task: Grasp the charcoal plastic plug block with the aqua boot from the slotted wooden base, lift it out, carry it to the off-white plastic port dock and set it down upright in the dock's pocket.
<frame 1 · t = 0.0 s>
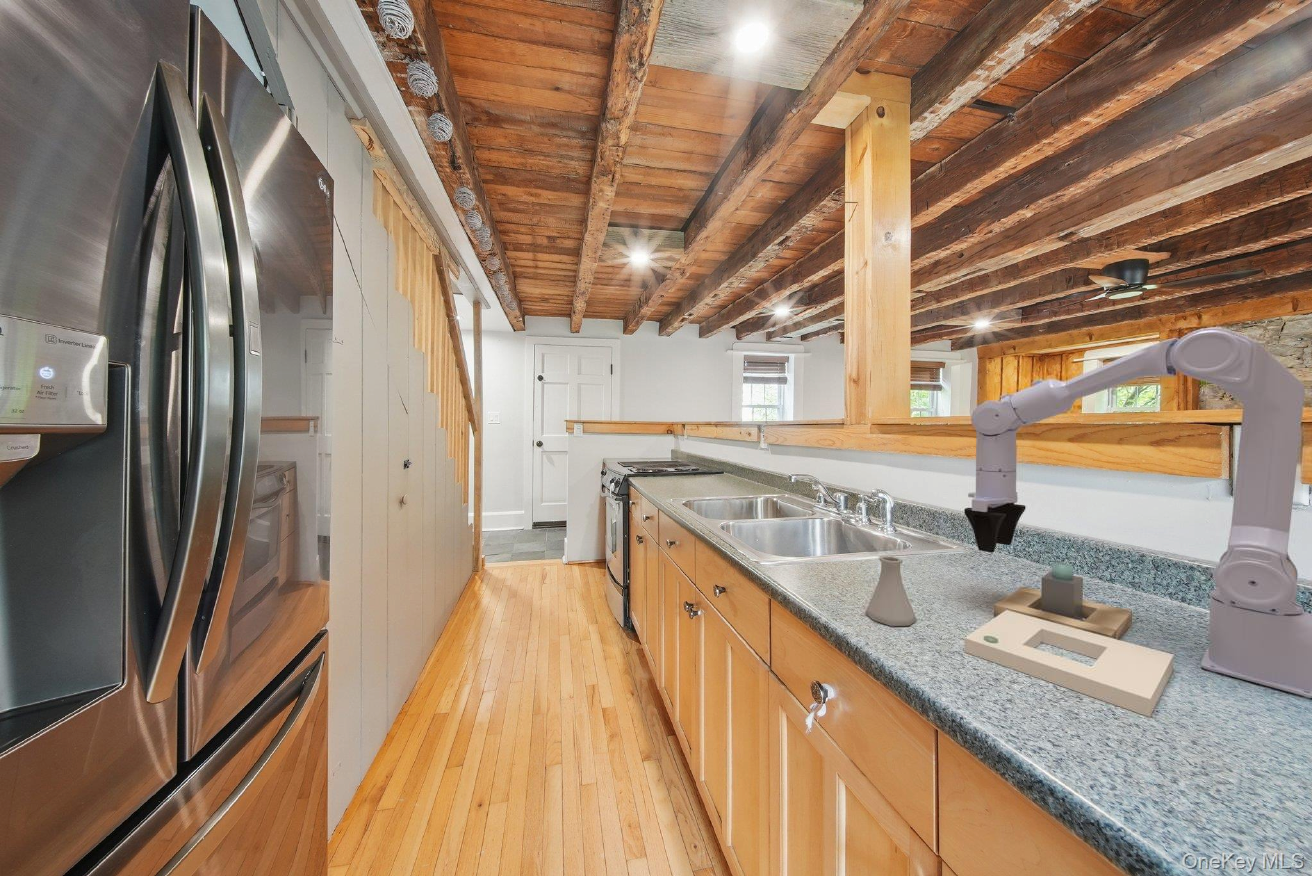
hand: (994, 547, 81), 10 cm above the counter, fingers open, 7 cm apart
slotted wooden base: (1061, 619, 75), on the counter
port dock: (1064, 660, 62), on the counter
flask: (890, 619, 76), on the counter
plug: (1061, 620, 75), resting in slotted wooden base
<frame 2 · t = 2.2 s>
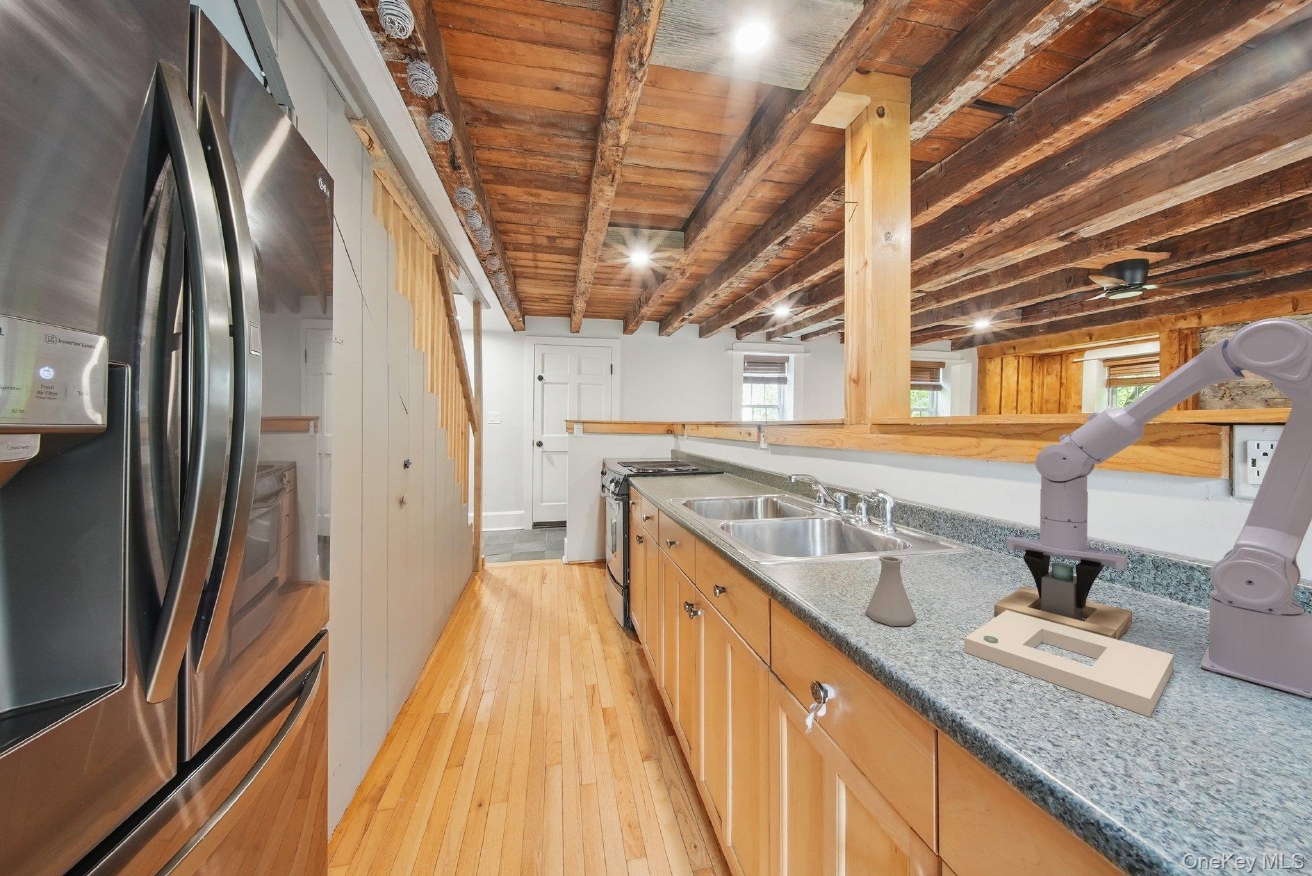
hand: (1061, 602, 75), 3 cm above the counter, fingers closed on plug, 4 cm apart
plug: (1061, 619, 75), resting in slotted wooden base, touching gripper
everything else where it was.
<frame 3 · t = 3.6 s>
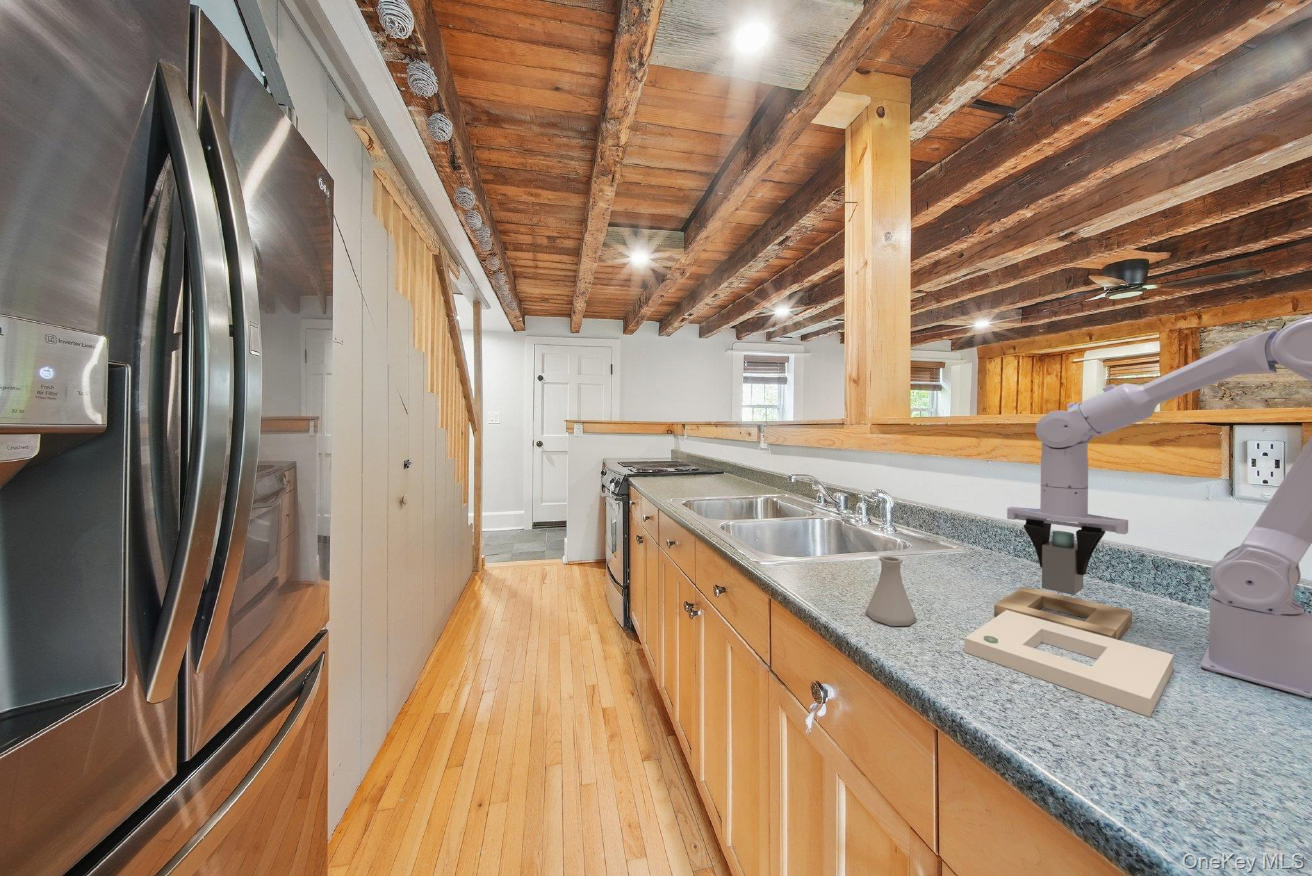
hand: (1062, 570, 75), 8 cm above the counter, fingers closed on plug, 4 cm apart
plug: (1062, 588, 75), point 5 cm above the counter, touching gripper
everything else where it was.
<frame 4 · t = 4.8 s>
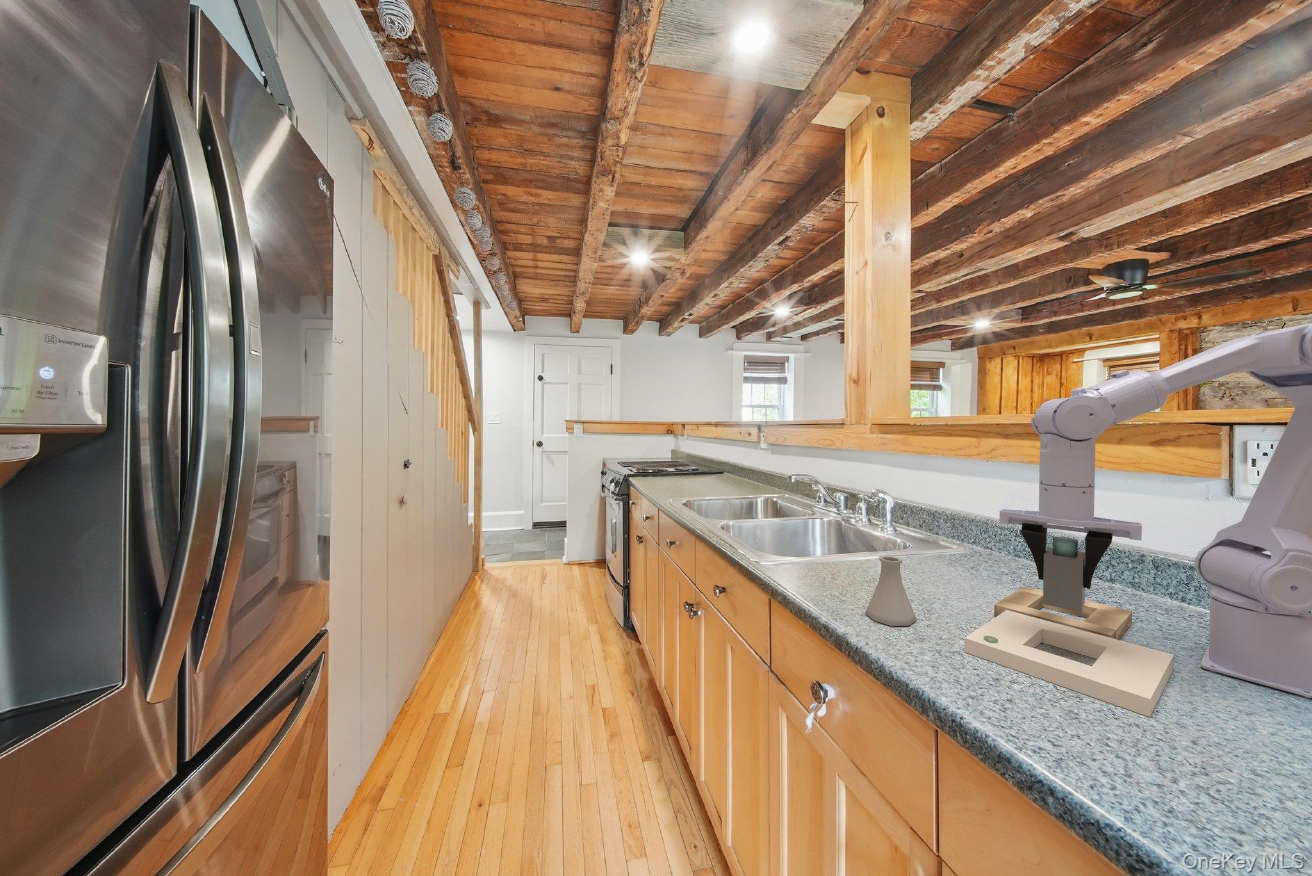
hand: (1064, 582, 64), 10 cm above the counter, fingers closed on plug, 4 cm apart
plug: (1063, 602, 64), point 7 cm above the counter, touching gripper
everything else where it was.
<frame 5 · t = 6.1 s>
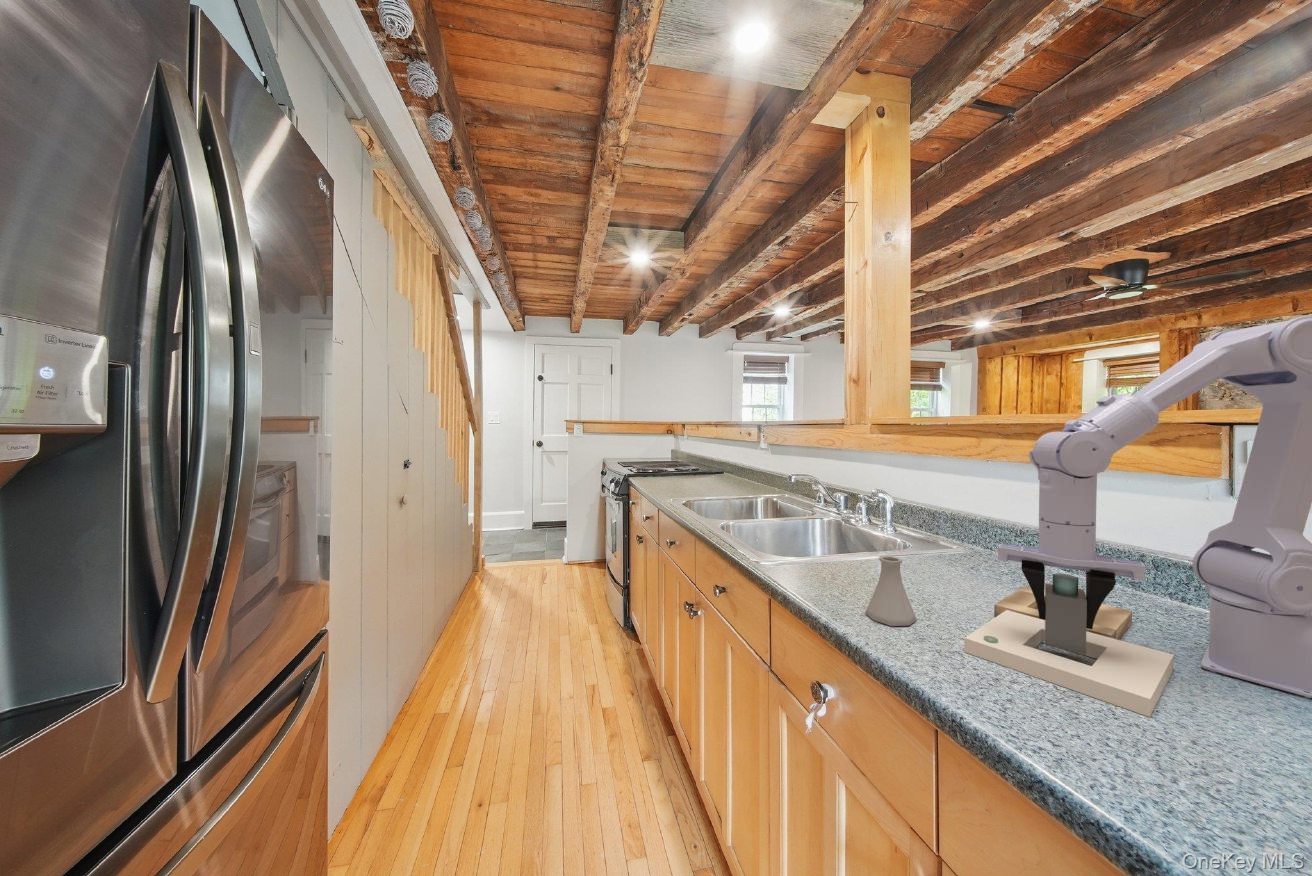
hand: (1064, 621, 62), 5 cm above the counter, fingers closed on plug, 4 cm apart
plug: (1064, 642, 63), point 2 cm above the counter, touching gripper
everything else where it was.
when the fingers open (4 cm above the counter, at t = 7.3 s): plug stays where it is, resting in port dock.
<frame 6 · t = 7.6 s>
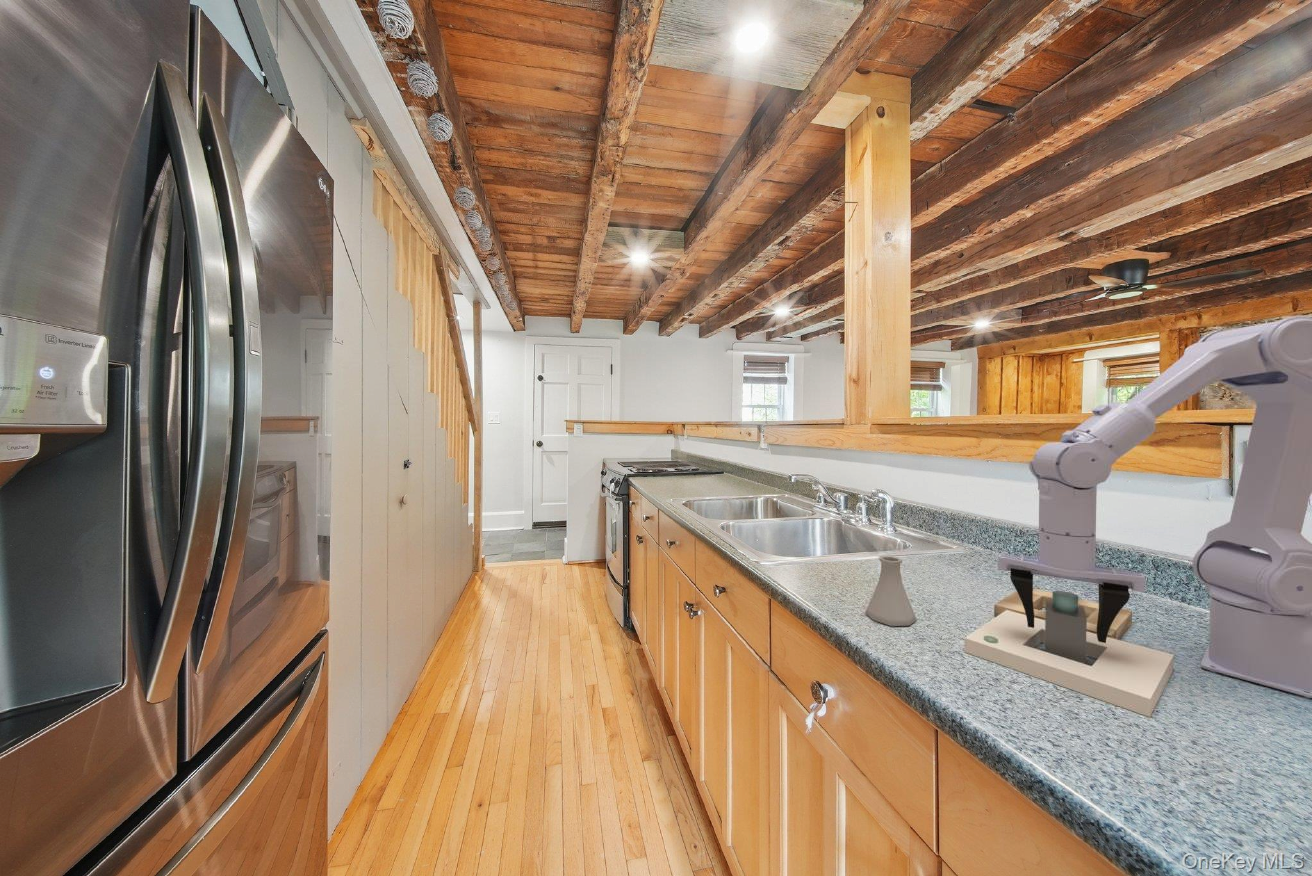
hand: (1064, 631, 62), 4 cm above the counter, fingers open, 6 cm apart
plug: (1064, 659, 63), resting in port dock
everything else where it was.
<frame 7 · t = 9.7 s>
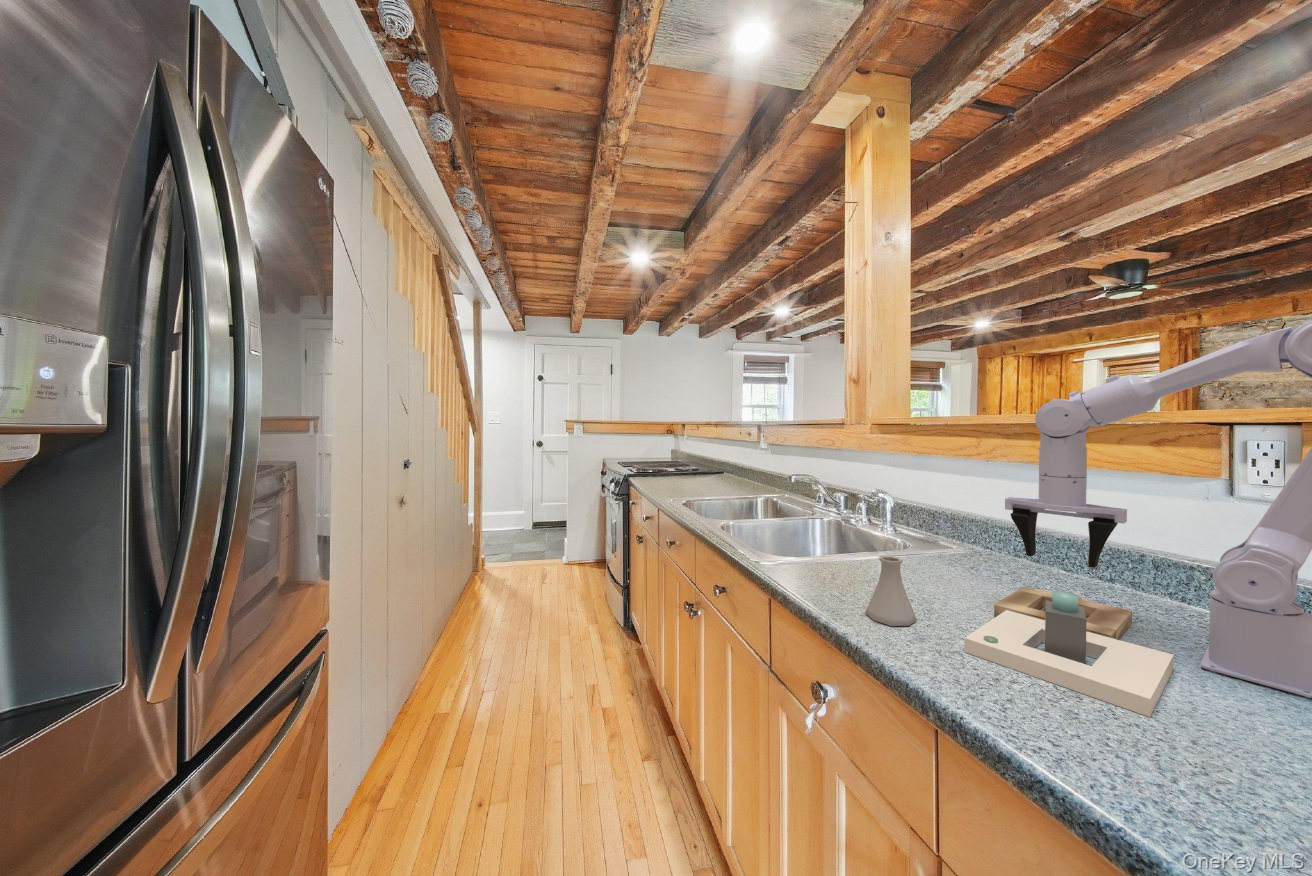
hand: (1060, 560, 74), 10 cm above the counter, fingers open, 7 cm apart
nothing on the counter moved.
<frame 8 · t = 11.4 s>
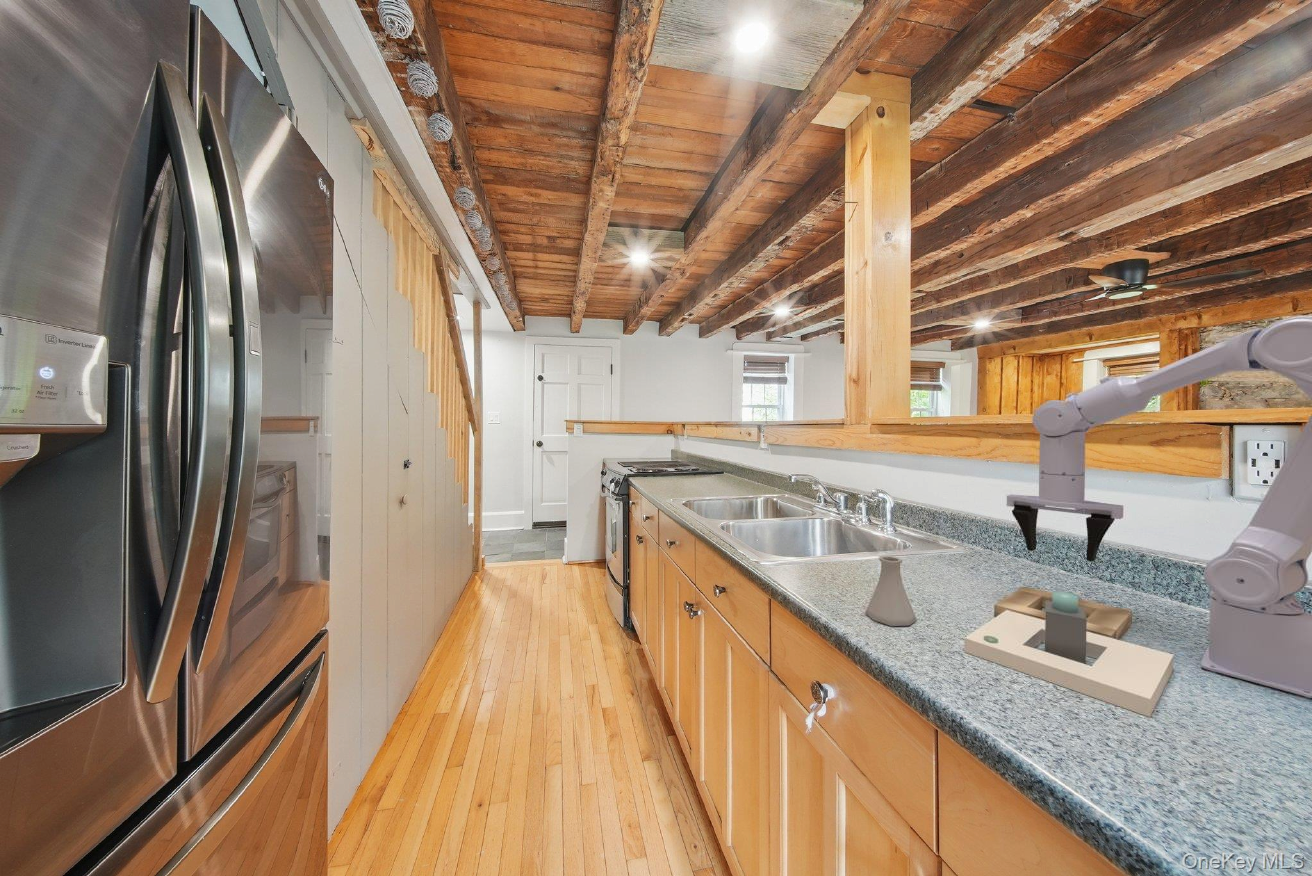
hand: (1060, 554, 77), 10 cm above the counter, fingers open, 7 cm apart
nothing on the counter moved.
at the end: plug 0.3 cm off-centre on the port dock, point 0.0 cm above the port dock's base; plug tilted 0°; the gripper is holding nothing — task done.
